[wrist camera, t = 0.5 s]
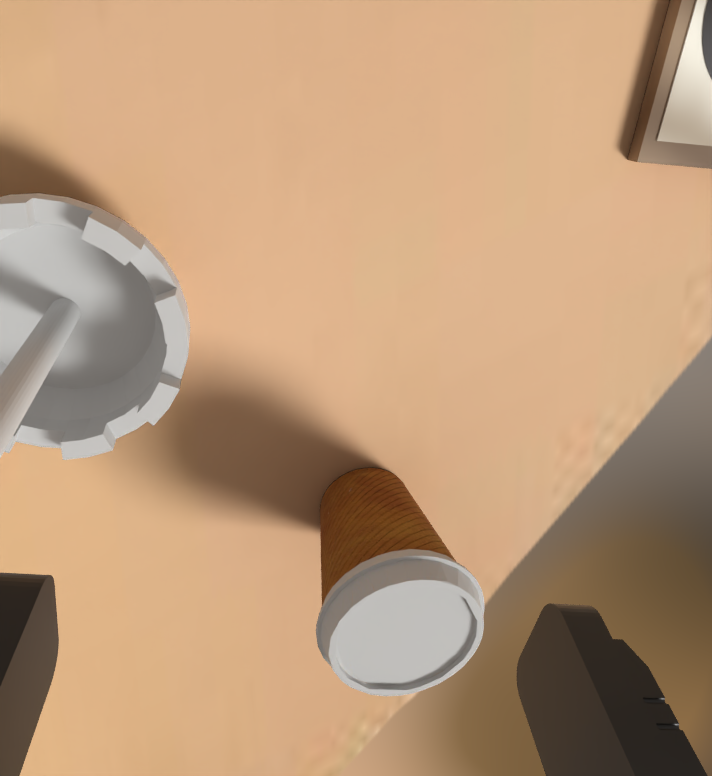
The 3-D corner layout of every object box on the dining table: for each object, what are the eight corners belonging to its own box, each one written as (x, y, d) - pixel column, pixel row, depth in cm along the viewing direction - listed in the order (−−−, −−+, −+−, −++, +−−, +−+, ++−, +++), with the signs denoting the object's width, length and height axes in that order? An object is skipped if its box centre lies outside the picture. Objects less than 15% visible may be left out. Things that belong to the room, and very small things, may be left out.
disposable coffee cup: (267, 516, 44) (281, 660, 33) (364, 421, 42) (412, 542, 31) (364, 577, 48) (404, 723, 37) (456, 494, 46) (526, 622, 35)
